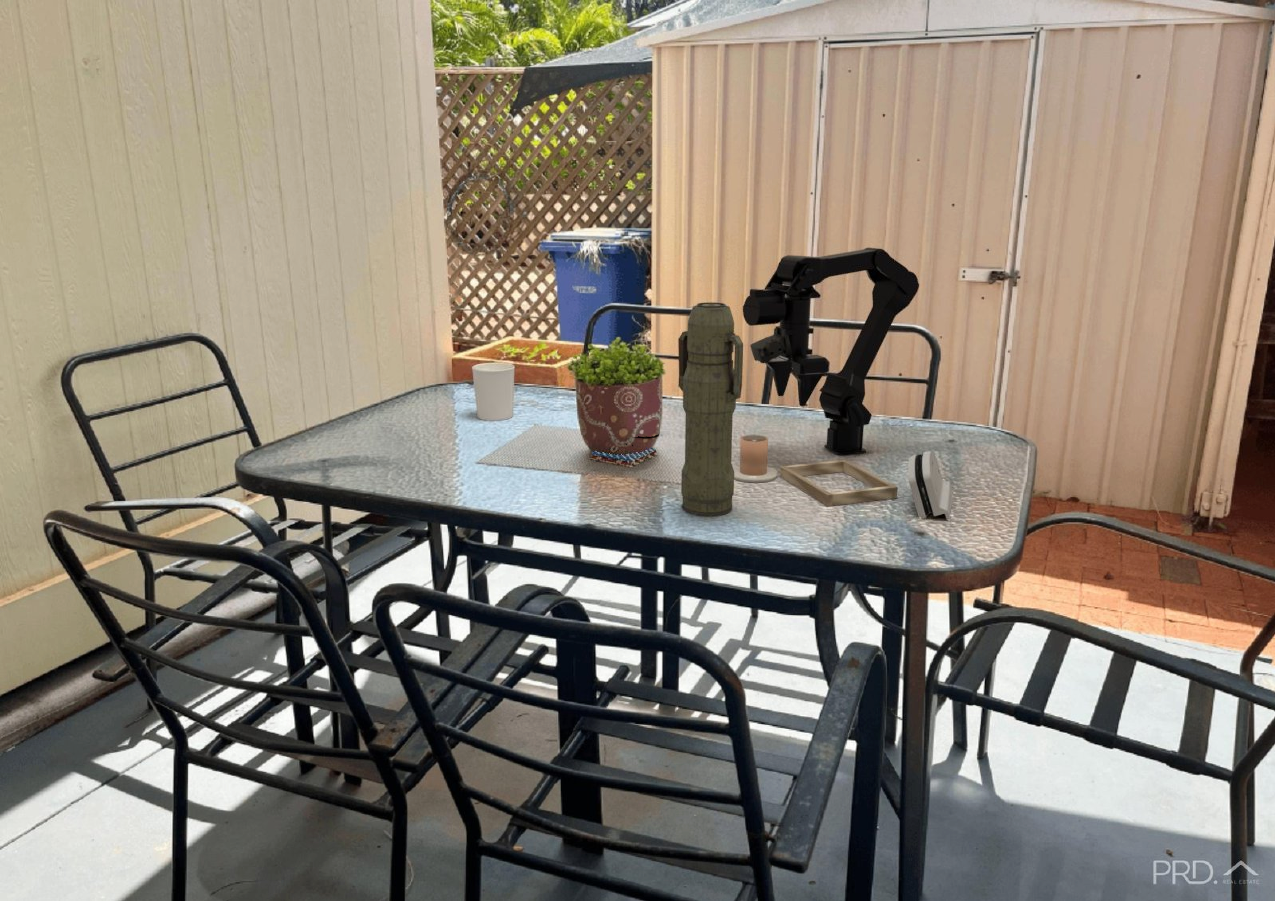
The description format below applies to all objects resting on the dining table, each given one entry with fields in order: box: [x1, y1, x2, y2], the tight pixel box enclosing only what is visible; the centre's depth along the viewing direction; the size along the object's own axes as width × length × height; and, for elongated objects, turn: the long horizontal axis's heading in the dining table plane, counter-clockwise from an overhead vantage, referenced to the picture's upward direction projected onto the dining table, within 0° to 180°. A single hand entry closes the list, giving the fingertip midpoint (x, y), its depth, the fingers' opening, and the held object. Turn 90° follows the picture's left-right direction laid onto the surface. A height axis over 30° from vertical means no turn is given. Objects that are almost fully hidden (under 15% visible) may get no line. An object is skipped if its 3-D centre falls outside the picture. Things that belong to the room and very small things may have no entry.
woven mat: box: [590, 447, 658, 468], centre depth 201 cm, size 10×11×2 cm
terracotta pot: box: [739, 434, 769, 476], centre depth 188 cm, size 5×5×6 cm
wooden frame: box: [779, 459, 899, 507], centre depth 182 cm, size 14×18×2 cm
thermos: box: [677, 301, 744, 517], centre depth 166 cm, size 9×12×35 cm
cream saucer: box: [732, 465, 778, 484], centre depth 189 cm, size 9×9×1 cm
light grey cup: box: [471, 362, 516, 422], centre depth 232 cm, size 10×10×12 cm
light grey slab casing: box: [907, 451, 954, 520], centre depth 172 cm, size 17×5×10 cm, turn 162°
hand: (791, 400), depth 196 cm, fingers open, 9 cm apart
